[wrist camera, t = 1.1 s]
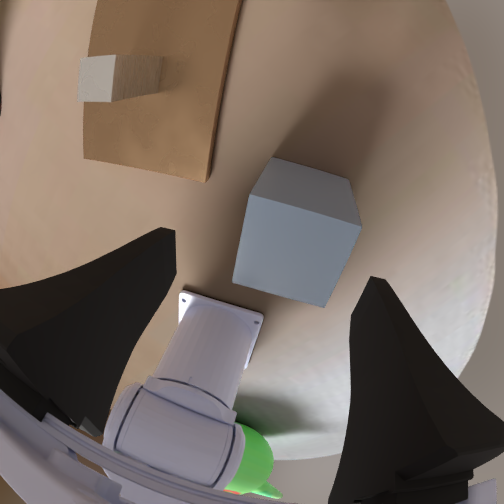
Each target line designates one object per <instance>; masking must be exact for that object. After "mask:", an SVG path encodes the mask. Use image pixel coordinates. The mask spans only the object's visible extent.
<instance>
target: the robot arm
mask: <svg viewBox="0 0 504 504" xmlns="http://www.w3.org/2000/svg"><path fill="white" fill-rule="evenodd" d="M176 274H177V271H176V240H175V230H171V229H167V228H163V227H160V228H157V229H155V230H153V231H151V232H149V233H147V234H145V235H143V236H141V237H139V238H137V239H135V240H133V241H131V242H129V243H128V244H126V245H124V246H122V247H120V248H118V249H116V250H114V251H112V252H110V253H108V254H106V255H104V256H102V257H100V258H98V259H96V260H94V261H91V262H89V263H87V264H85V265H82V266H80V267H77V268H75V269H72V270H70V271H67V272H65V273H62V274H59V275H56V276H53V277H49V278H46V279H43V280H40V281H37V282H33V283H29V284H25V285H20V286H16V287H11V288H5V289H0V475H1V476H2V477H3V478H4V480H5V481H6V482H7V483H8V484H9V485H10V486H11V487H12V489H13V490H14V491H15V492H16V493H17V494H18V495H19V496H20V497H21V498H22V499H23V500H24V501H25V502H26V503H27V504H295V503H286V502H278V501H271V500H264V499H258V498H252V497H248V496H243V495H238V494H233V493H229V492H225V491H223V490H224V489H225V487H226V486H227V485H228V484H229V483H230V482H231V481H232V479H233V478H234V476H235V474H236V472H237V470H238V468H239V466H240V463H241V460H242V457H243V453H244V449H245V435H244V432H243V430H242V427H241V425H239V424H237V423H234V422H235V418H236V415H237V412H235V411H233V410H232V408H233V405H234V402H235V398H236V395H237V391H238V388H239V384H240V381H241V377H242V374H243V370H244V369H246V368H247V365H248V362H249V359H250V357H251V354H252V351H253V348H254V345H255V342H256V339H257V337H258V334H259V331H260V328H261V325H262V322H263V319H264V316H263V315H262V314H261V313H258V312H255V311H251V310H248V309H244V308H241V307H237V306H234V305H231V304H227V303H224V302H221V301H217V300H214V299H211V298H208V297H204V296H201V295H198V294H195V293H192V292H189V291H185V290H182V291H181V292H180V294H179V325H178V327H177V329H176V331H175V332H174V334H173V336H172V338H171V340H170V342H169V344H168V346H167V348H166V350H165V352H164V354H163V356H162V358H161V360H160V362H159V364H158V366H157V368H156V370H155V372H154V374H153V376H148V378H147V380H146V382H145V384H144V386H143V384H141V383H139V382H135V383H134V384H131V385H128V386H126V387H125V389H124V390H123V391H122V393H121V394H120V396H119V398H118V399H117V401H116V403H115V405H114V407H113V409H112V411H111V413H110V416H109V419H108V421H107V417H108V414H109V410H110V407H111V404H112V401H113V398H114V395H115V392H116V389H117V386H118V384H119V381H120V379H121V376H122V374H123V371H124V369H125V367H126V364H127V362H128V360H129V358H130V355H131V353H132V351H133V349H134V347H135V345H136V343H137V341H138V340H139V338H140V336H141V335H142V333H143V331H144V330H145V328H146V327H147V325H148V323H149V322H150V320H151V319H152V317H153V316H154V314H155V312H156V311H157V309H158V308H159V306H160V305H161V303H162V301H163V300H164V298H165V297H166V295H167V293H168V291H169V289H170V287H171V285H172V282H173V280H174V278H175V276H176ZM257 321H258V322H257ZM349 346H350V374H351V399H350V409H349V417H348V424H347V430H346V436H345V441H344V447H343V451H342V455H341V459H340V464H339V468H338V471H337V474H336V478H335V481H334V484H333V488H332V490H331V493H330V496H329V499H328V504H496V503H497V501H496V500H497V495H496V479H495V478H493V479H491V480H487V481H484V482H481V483H478V484H475V485H472V486H469V487H468V480H471V479H472V478H473V476H474V475H473V469H475V468H477V467H479V466H481V465H483V464H484V463H486V462H488V461H490V460H492V459H493V458H495V457H497V456H499V455H500V454H501V453H503V452H504V422H503V421H502V420H501V419H500V418H499V417H497V416H496V415H495V414H494V413H492V412H491V411H490V410H489V409H488V408H486V407H485V406H484V405H483V404H482V403H481V402H480V401H479V400H478V399H476V397H474V396H473V395H472V394H471V393H470V392H469V391H468V390H467V389H466V388H465V387H464V385H463V384H462V383H461V382H460V381H459V380H458V379H457V378H456V377H455V376H454V374H453V373H452V372H451V371H450V370H449V369H448V368H447V366H446V365H445V364H444V363H443V361H442V360H441V359H440V357H439V356H438V355H437V354H436V352H435V351H434V350H433V348H432V347H431V346H430V344H429V343H428V342H427V340H426V339H425V337H424V336H423V334H422V333H421V332H420V330H419V329H418V327H417V326H416V324H415V323H414V321H413V320H412V318H411V317H410V315H409V313H408V312H407V310H406V309H405V307H404V306H403V304H402V303H401V301H400V300H399V298H398V297H397V295H396V294H395V292H394V291H393V289H392V288H391V286H390V285H389V283H388V282H387V281H386V280H385V279H381V278H377V277H373V276H370V278H369V280H368V283H367V285H366V287H365V289H364V291H363V293H362V295H361V297H360V299H359V301H358V303H357V305H356V307H355V309H354V311H353V312H352V314H351V322H350V336H349ZM106 421H107V424H106ZM69 424H70V425H72V426H73V427H75V428H77V429H78V428H80V429H81V430H83V431H85V432H87V433H88V434H90V435H92V436H94V437H97V436H100V435H102V434H103V432H104V440H103V444H102V445H100V444H99V443H96V442H95V441H93V440H91V439H90V438H88V437H86V436H84V435H83V434H81V433H79V432H77V431H76V430H74V429H72V428H71V427H69ZM105 424H106V428H105ZM104 428H105V431H104ZM74 451H75V452H76V453H78V454H80V455H81V456H83V457H85V458H86V459H88V460H90V461H92V462H93V463H95V464H97V465H99V466H101V467H102V468H103V470H104V471H105V472H106V474H107V476H108V477H109V478H110V479H109V478H107V477H105V476H103V475H101V474H99V473H98V472H96V471H94V470H92V469H90V468H89V467H87V466H85V465H83V464H82V463H80V462H79V461H78V460H77V455H76V453H75V452H74ZM119 494H121V496H119Z"/></svg>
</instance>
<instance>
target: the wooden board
mask: <svg viewBox="0 0 504 504" xmlns="http://www.w3.org/2000/svg"><path fill="white" fill-rule="evenodd" d="M241 3H242V0H98V1H97V6H96V10H95V15H94V20H93V26H92V32H91V38H90V44H89V51H88V57H85V58H81V60H80V69H79V81H78V97H77V102H84V116H83V149H84V159H90V160H96V161H102V162H108V163H113V164H119V165H124V166H129V167H134V168H139V169H144V170H149V171H154V172H159V173H164V174H168V175H173V176H178V177H182V178H187V179H191V180H195V181H200V182H204V183H205V182H206V181H207V180H208V179H209V175H210V168H211V161H212V155H213V148H214V141H215V135H216V129H217V123H218V117H219V111H220V105H221V99H222V94H223V88H224V83H225V78H226V72H227V67H228V62H229V57H230V52H231V47H232V43H233V38H234V33H235V29H236V24H237V20H238V16H239V11H240V7H241Z"/></svg>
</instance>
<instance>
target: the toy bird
mask: <svg viewBox="0 0 504 504" xmlns="http://www.w3.org/2000/svg"><path fill="white" fill-rule="evenodd" d="M234 423H237V422H234ZM237 424H239V425H241V427H242V430H243V432H244V435H245V449H244V453H243V457H242V460H241V463H240V466H239V468H238V470H237V472H236V474H235V476H234V478H233V479H232V481H231V482H230V483H229V484H228V485H227V486H226V487H225V489H224V490H223V491H225V492H229V493H233V494H238V495H240V494H245V493H248V492H253V493H256V494H260V495H263V496H267V497H272V498H282V497H283V495H282V493H280V491H278V490H277V489H276V488H274V487H273V486H272V485H271V484H270V483H268V482H267V481H266V480H267V479H268V478H269V476H270V474H271V472H272V469H273V461H274V459H273V453H272V450H271V448H270V446H269V444H268V442H267V441H266V440H265V439H264V437H263V436H262V435H260V434H259V433H258V432H257V431H255V430H253V429H252V428H250V427H248V426H245V425H243V424H240V423H237Z"/></svg>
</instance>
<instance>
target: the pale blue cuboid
mask: <svg viewBox="0 0 504 504" xmlns="http://www.w3.org/2000/svg"><path fill="white" fill-rule="evenodd" d="M361 229H362V224H361V220H360V217H359V213H358V209H357V206H356V202H355V199H354V195H353V192H352V189H351V185H350V182H349V179H346V178H343V177H340V176H337V175H334V174H330V173H327V172H324V171H321V170H317V169H314V168H311V167H307V166H304V165H300V164H297V163H293V162H289V161H286V160H282V159H278V158H274V157H271V158H270V160H269V162H268V163H267V165H266V167H265V169H264V170H263V172H262V174H261V175H260V177H259V179H258V180H257V182H256V184H255V186H254V187H253V189H252V191H251V193H250V194H249V199H248V204H247V209H246V214H245V219H244V223H243V228H242V233H241V238H240V243H239V248H238V253H237V258H236V263H235V268H234V273H233V279H232V282H233V283H236V284H239V285H243V286H246V287H250V288H253V289H257V290H260V291H264V292H267V293H271V294H275V295H278V296H282V297H285V298H289V299H293V300H296V301H300V302H304V303H308V304H311V305H315V306H319V307H323V308H324V307H325V306H326V304H327V302H328V300H329V298H330V296H331V294H332V292H333V290H334V288H335V286H336V284H337V281H338V279H339V277H340V275H341V273H342V271H343V269H344V267H345V265H346V263H347V260H348V258H349V256H350V254H351V252H352V249H353V247H354V245H355V243H356V240H357V238H358V236H359V234H360V231H361Z"/></svg>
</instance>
